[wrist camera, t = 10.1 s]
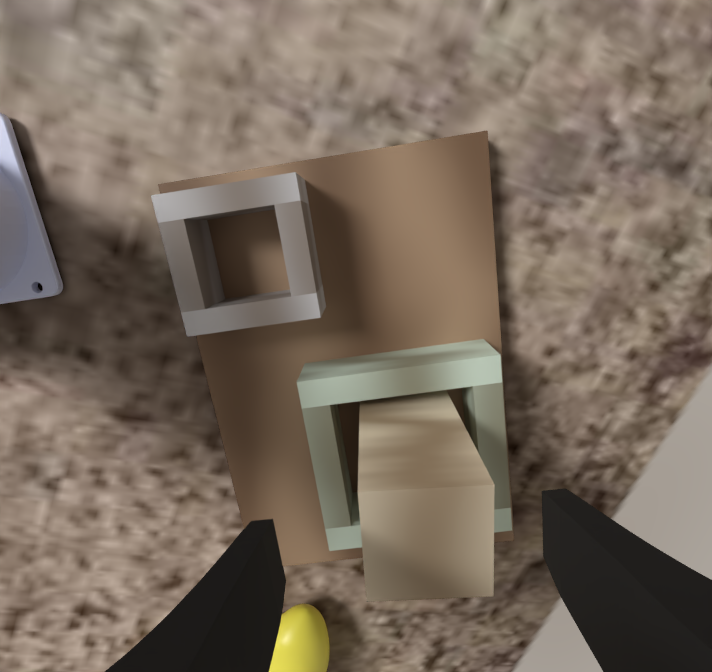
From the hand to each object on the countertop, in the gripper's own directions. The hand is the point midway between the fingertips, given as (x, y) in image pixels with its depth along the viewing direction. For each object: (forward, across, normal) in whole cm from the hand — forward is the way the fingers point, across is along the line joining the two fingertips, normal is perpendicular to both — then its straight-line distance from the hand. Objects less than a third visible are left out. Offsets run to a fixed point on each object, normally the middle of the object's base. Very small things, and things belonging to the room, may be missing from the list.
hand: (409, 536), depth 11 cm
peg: (+9, -1, +2) cm, 9 cm away
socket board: (+10, +2, -1) cm, 10 cm away
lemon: (+11, +7, +15) cm, 20 cm away
